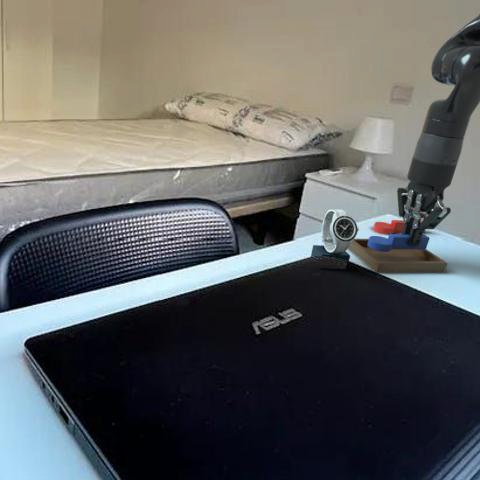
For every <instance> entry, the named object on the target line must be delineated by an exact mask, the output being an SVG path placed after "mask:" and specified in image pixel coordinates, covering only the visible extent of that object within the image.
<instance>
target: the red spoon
mask: <svg viewBox="0 0 480 480" xmlns="http://www.w3.org/2000/svg"><path fill="white" fill-rule="evenodd" d="M422 221H423V220H421V221H420V223H421V222H422ZM403 227H404V222H403V219H392V220H391V221H390V223H389V222H386V221H375V222H374V225H373V228H372V230H373V231H374V232H376V233H378V234H381V235H386V236H389V234H401V233H402V230H403Z"/></svg>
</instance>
